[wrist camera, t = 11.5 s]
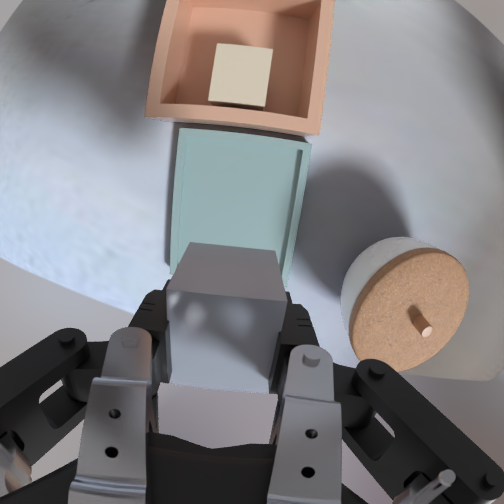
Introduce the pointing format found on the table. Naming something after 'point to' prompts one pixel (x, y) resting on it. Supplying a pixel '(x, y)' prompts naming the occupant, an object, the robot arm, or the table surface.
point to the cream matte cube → (240, 77)
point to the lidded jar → (403, 301)
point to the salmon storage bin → (247, 34)
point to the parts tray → (238, 192)
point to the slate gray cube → (225, 317)
